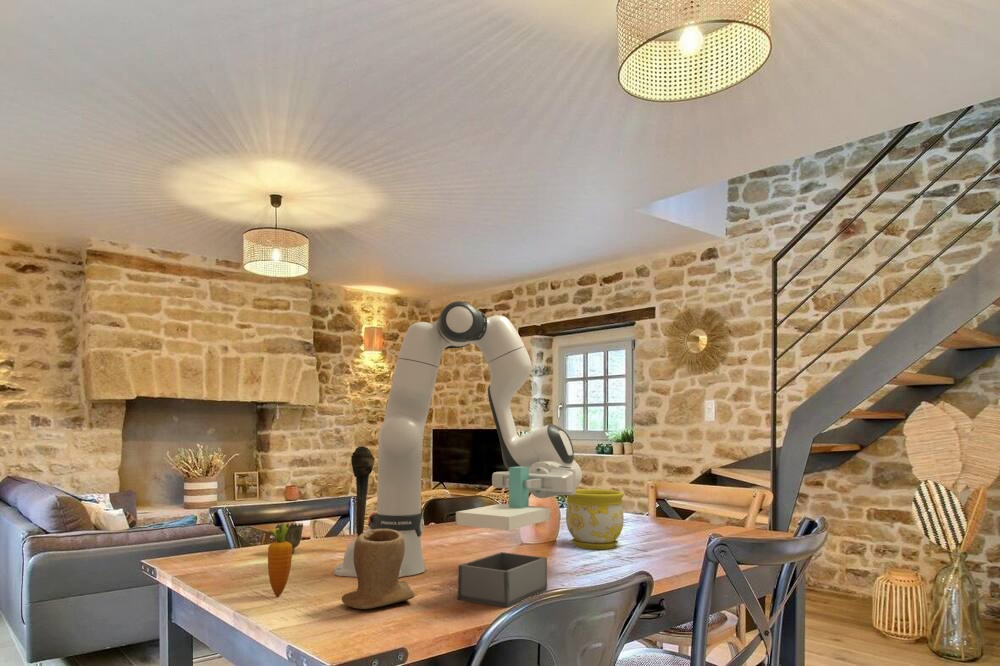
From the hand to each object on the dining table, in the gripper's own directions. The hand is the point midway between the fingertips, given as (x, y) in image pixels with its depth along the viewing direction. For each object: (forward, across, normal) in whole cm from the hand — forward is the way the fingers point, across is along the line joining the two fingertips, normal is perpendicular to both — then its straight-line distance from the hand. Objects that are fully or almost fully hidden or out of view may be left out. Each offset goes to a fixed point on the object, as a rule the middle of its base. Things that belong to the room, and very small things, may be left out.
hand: (517, 483), depth 155 cm
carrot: (+34, -39, +24) cm, 57 cm away
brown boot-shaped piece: (+27, -17, +24) cm, 39 cm away
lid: (+6, 0, +8) cm, 10 cm away
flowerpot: (-62, -7, +24) cm, 67 cm away
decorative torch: (-14, -60, +24) cm, 66 cm away
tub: (+6, 0, +23) cm, 24 cm away
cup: (0, -74, +24) cm, 77 cm away
